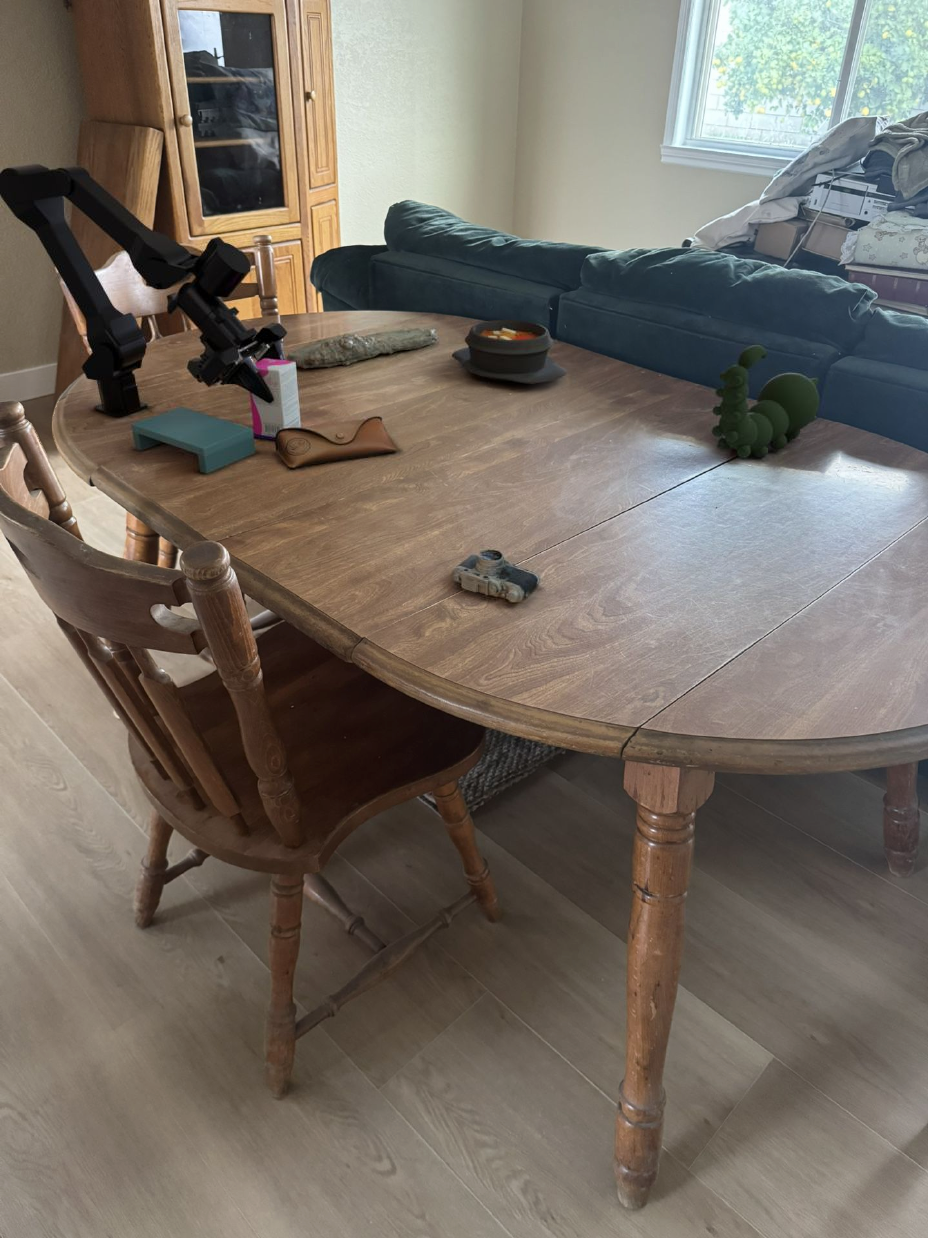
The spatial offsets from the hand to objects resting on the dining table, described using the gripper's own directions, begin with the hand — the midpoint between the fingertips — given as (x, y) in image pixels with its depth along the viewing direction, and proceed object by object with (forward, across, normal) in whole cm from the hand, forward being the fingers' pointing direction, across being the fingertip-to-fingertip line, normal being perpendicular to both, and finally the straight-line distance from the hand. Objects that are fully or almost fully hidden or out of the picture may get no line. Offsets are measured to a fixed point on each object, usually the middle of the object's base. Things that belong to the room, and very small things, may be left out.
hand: (282, 395), depth 144 cm
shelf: (-2, +11, -12) cm, 16 cm away
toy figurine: (+57, -24, +47) cm, 78 cm away
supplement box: (+4, 0, -6) cm, 7 cm away
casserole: (+22, -45, +13) cm, 51 cm away
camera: (+38, +34, +28) cm, 58 cm away
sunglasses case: (+13, +4, +3) cm, 14 cm away
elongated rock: (+1, -45, -9) cm, 46 cm away
